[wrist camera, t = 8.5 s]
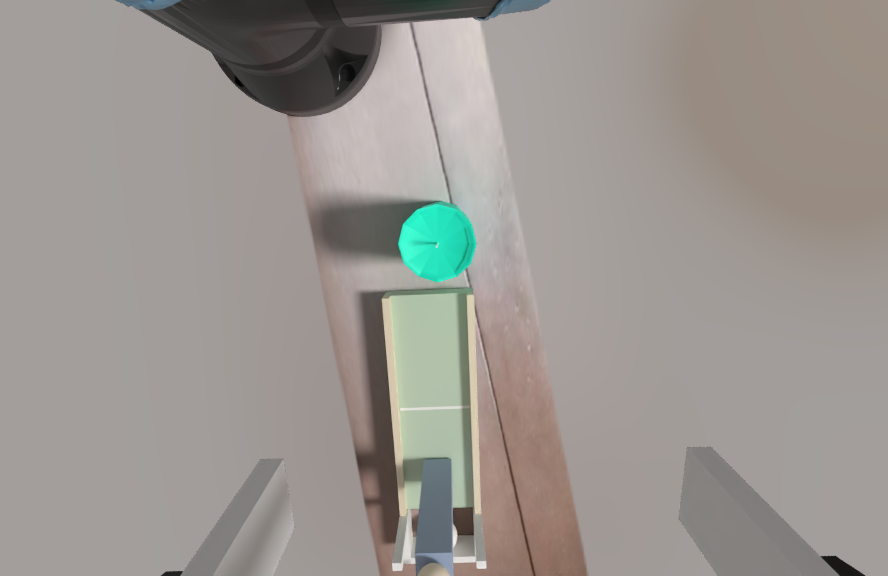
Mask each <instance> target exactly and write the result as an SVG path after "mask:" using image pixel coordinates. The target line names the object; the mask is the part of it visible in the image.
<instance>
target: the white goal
mask: <svg viewBox="0 0 888 576" xmlns="http://www.w3.org/2000/svg"><path fill="white" fill-rule="evenodd" d="M473 525H474V535H457V542H456V544H455V546H454V548H453V563H463V562H477V569H486V555H485V545H484V535H483V524H482V514H475V511H474V507H473ZM415 546H416V537H413V532H412V519H411V509H407V514H406V516H400V517H399V523H398V529H397V536H396V542H395V549H394V555H393V562H392V567H393V571H402V568H403V560H404V564H415Z"/></svg>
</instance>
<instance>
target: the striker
mask: <svg viewBox="0 0 888 576" xmlns="http://www.w3.org/2000/svg"><path fill="white" fill-rule="evenodd" d="M415 564H416V576H453V482H452V462H451V459H428V460H424V464H423V474H422V484H421V494H420V505H419V515H418V525H417V535H416V546H415Z"/></svg>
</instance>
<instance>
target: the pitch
mask: <svg viewBox="0 0 888 576" xmlns="http://www.w3.org/2000/svg"><path fill="white" fill-rule="evenodd" d="M382 308H383V320H384V332H385V344H386V356H387V367H388V379H389V391H390V403H391V415H392V427H393V439H394V450H395V462H396V474H397V486H398V498H399V510H400V516H406V514H407V509H419V505H420V494H421V484H422V474H423V464H424V460H428V459H451V462H452V482H453V508H462V507H474V511H475V514H481V498H480V466H479V435H478V404H477V372H476V341H475V310H474V293H473V288H457V289H433V290H410V291H387V292H386V293H385V294H384V296H383V298H382Z"/></svg>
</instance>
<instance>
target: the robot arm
mask: <svg viewBox="0 0 888 576" xmlns="http://www.w3.org/2000/svg"><path fill="white" fill-rule="evenodd" d="M116 1H118V2H120V3H123V4H125V5H126V6H128V7H129V6H133V7H134V8H135V9H138V10H140V11H141V12H143V13H145V14H147V15H148V16H150V17H152V18H153V19H155V20H157V21H159V22H161V23H162V24H164V25H166V26H167V27H169V28H171V29H172V30H174V31H176V32H178V33H180V34H181V35H183V36H185V37H186V38H188V39H190V40H191V41H193V42H195V43H197V44H198V45H200V46H202V47H204V48H205V49H207V50H209V51H210V52H211V53H212V54H213V56H214V58H215V59H216V61H217V62H218V64H219V66H220V67H221V69H222V70H223V71H224V73H225V74H226V75H227V77H228V78H229V79H230V80H231V81H232V82H233V83H234V84H235V85H236V86H237V87H238V88H239V89H240V90H241V91H242V92H244V93H245V94H246V95H248V96H249V97H250V98H252V99H253V100H255V101H257V102H259V103H260V104H262V105H265V106H267V107H269V108H271V109H273V110H275V111H278V112H281V113H284V114H288V115H294V116H316V115H321V114H325V113H328V112H331V111H333V110H335V109H337V108H339V107H341V106H343V105H344V104H346V103H347V102H349V101H350V100H351V99H352V98H353V97H354V96H355V95H357V93H358V92H359V91H360V90H361V89H362V88H363V86H364V85H365V84H366V82H367V81H368V79H369V77H370V75H371V74H372V71H373V69H374V67H375V64H376V61H377V58H378V55H379V50H380V44H381V25H383V24H396V23H408V22H421V21H433V20H446V19H459V18H471V17H473V18H474V19H476V20H479V21H486V20H488V19H490V18H495V17H496V16H498V15H499V14H507V13H515V12H522V11H529V10H534V9H538V8H539V7H541V6H542V5H544V4H546V3H548V2H549V1H550V0H116ZM679 520H680V521H681V523H682V524H683V526H684V527H685V529H686V530H687V532H688V533H689V535H690V536H691V538H692V539H693V540H694V542H695V543H696V545H697V546H698V548H699V549H700V551H701V552H702V554H703V555H704V557H705V558H706V559H707V561H708V562H709V564H710V565H711V567H712V568H713V570H714V571H715V573H716V574H717V575H718V576H865V575H864V574H862V573H860V572H859V571H858V570H856V569H854V568H853V567H852V566H850V565H848V564H847V563H845V562H844V561H842V560H841V559H839V558H838V557H836V556H819V555H818V554H817V553H816V552H815V551H814V550H813V549H812V548H811V547H810V546H809V545H808V544H807V543H806V542H805V541H804V540H803V539H802V538H801V537H800V536H799V535H798V534H797V533H796V532H795V531H794V530H793V529H792V528H791V527H790V526H789V524H787V522H786V521H784V519H783V518H781V517H780V516H779V514H778V513H777V512H775V511H774V509H773V508H771V507H770V505H769V504H768V503H767V502H766V501H765V500H764V499H762V497H761V496H760V495H759V494H758V493H757V492H756V491H754V490H753V488H752V487H751V486H749V485H748V483H747V482H746V481H745V480H744V479H743V478H742V477H741V476H740V475H739V474H738V473H737V472H736V471H735V470H734V469H733V468H732V467H731V466H730V465H729V464H728V463H727V462H726V461H725V460H724V459H723V458H722V457H721V456H720V455H719V454H718V453H717V452H716V451H715V450H714V449H713V448H712V447H687V451H686V460H685V468H684V478H683V485H682V494H681V502H680V511H679ZM293 530H294V523H293V516H292V509H291V503H290V497H289V490H288V484H287V477H286V471H285V465H284V459H260V461H259V462H258V464H257V465H256V466H255V468H254V469H253V471H252V472H251V474H250V475H249V477H248V478H247V480H246V481H245V482H244V484H243V485H242V487H241V488H240V490H239V491H238V493H237V494H236V496H235V497H234V498H233V500H232V501H231V503H230V504H229V506H228V507H227V509H226V510H225V512H224V513H223V514H222V516H221V517H220V519H219V520H218V522H217V523H216V525H215V526H214V528H213V529H212V531H211V532H210V534H209V535H208V536H207V538H206V539H205V541H204V542H203V544H202V545H201V546H200V548H199V549H198V551H197V552H196V554H195V555H194V557H193V558H192V560H191V561H190V562H189V564H188V565H187V567H186V568H185V570H184V571H173V572H171V571H170V572H165V573H164V574H163V575H161V576H273V574H274V572H275V570H276V567H277V565H278V563H279V561H280V558H281V556H282V554H283V552H284V549H285V547H286V545H287V543H288V541H289V538H290V536H291V534H292V532H293Z"/></svg>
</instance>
